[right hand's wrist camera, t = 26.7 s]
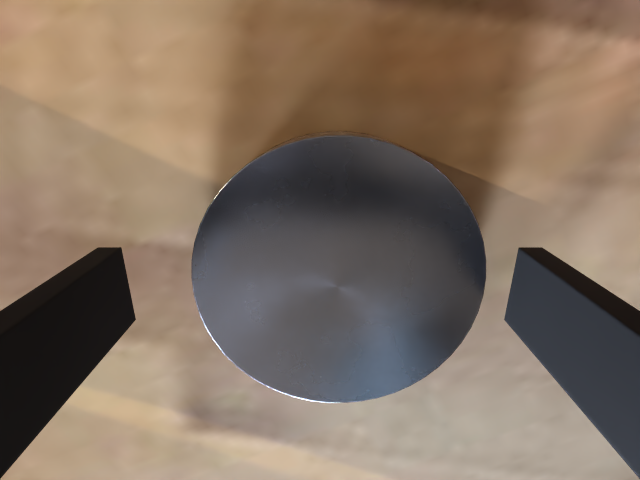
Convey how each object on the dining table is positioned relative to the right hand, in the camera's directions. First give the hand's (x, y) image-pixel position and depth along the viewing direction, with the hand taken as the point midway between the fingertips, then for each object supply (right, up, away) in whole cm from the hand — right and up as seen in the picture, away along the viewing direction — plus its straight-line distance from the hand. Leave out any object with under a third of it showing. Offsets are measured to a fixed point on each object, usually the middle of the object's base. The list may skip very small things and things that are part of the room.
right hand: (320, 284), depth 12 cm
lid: (+1, 0, +1) cm, 1 cm away
